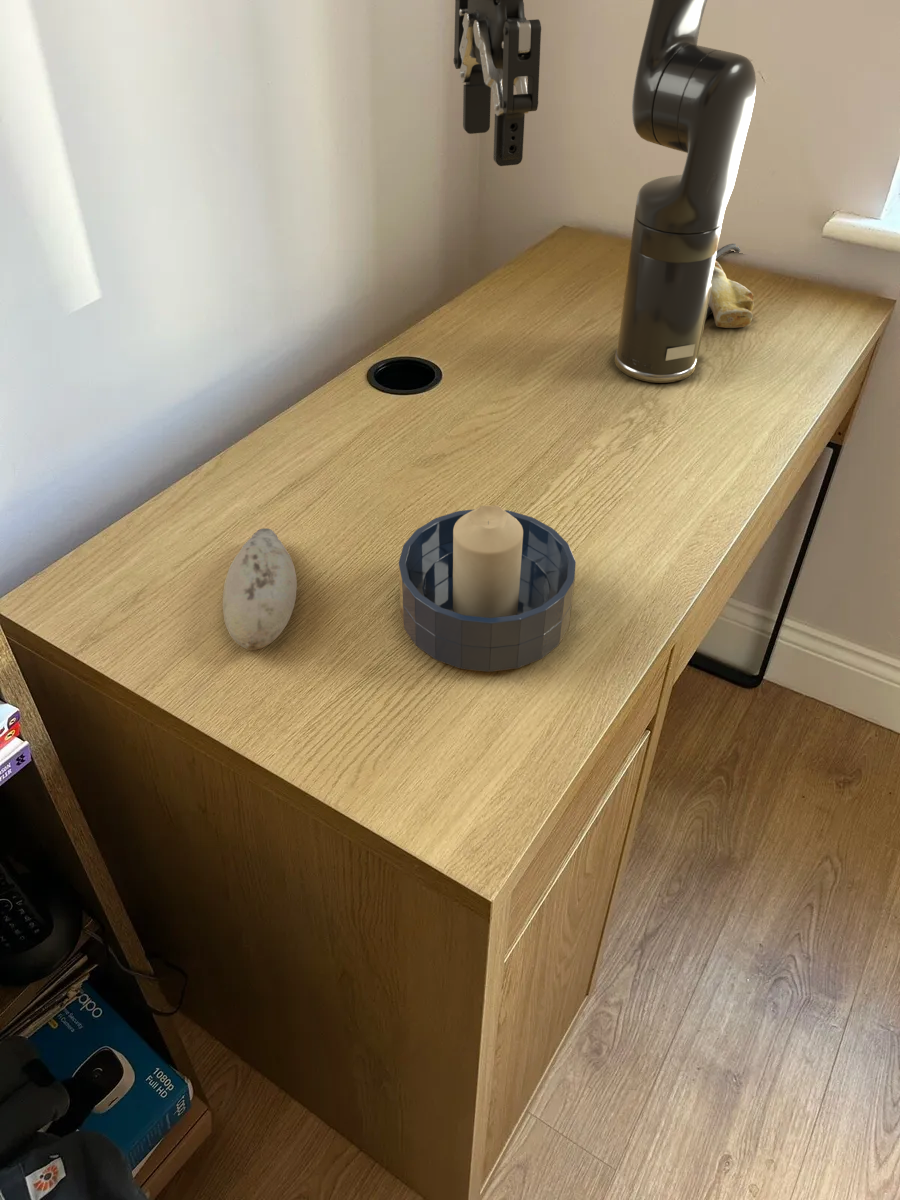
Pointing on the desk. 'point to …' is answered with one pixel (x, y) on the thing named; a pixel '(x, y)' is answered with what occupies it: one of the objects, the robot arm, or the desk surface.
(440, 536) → the bowl
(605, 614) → the desk surface
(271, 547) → the decorative stone
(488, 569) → the candle
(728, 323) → the figurine
